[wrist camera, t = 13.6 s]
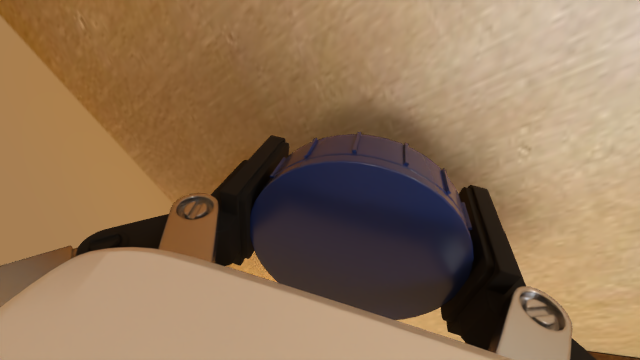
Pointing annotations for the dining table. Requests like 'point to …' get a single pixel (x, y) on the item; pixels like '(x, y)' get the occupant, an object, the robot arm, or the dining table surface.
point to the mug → (610, 357)
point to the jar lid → (364, 226)
